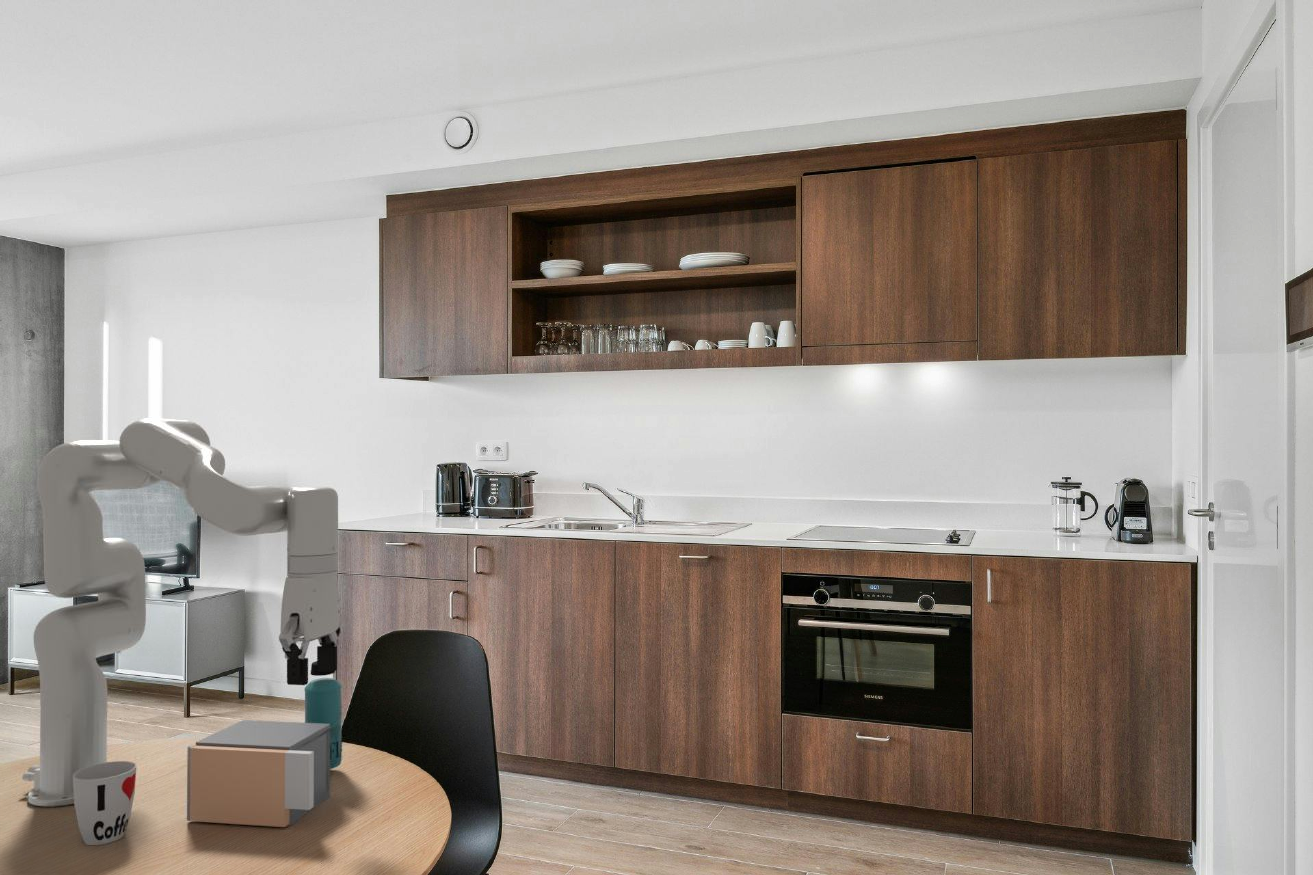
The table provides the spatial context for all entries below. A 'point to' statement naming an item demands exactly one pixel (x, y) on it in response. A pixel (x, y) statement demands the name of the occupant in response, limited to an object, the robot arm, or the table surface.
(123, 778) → the cup
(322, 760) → the grey smooth box
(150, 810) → the table surface
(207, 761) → the door
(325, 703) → the beverage bottle
